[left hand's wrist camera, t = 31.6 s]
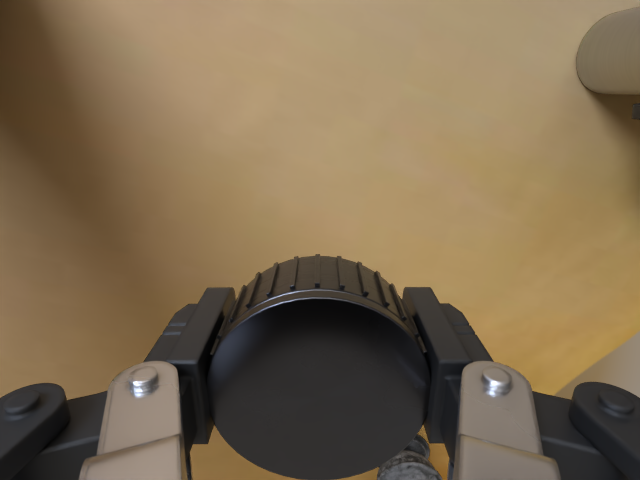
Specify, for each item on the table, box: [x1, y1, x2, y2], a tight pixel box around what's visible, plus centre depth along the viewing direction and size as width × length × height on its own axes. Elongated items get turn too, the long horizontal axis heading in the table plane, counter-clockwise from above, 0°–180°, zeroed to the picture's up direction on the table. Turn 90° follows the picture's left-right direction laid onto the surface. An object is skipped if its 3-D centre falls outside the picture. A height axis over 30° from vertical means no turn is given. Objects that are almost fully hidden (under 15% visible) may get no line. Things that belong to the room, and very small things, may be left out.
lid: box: [206, 254, 431, 480], centre depth 10 cm, size 5×5×2 cm
